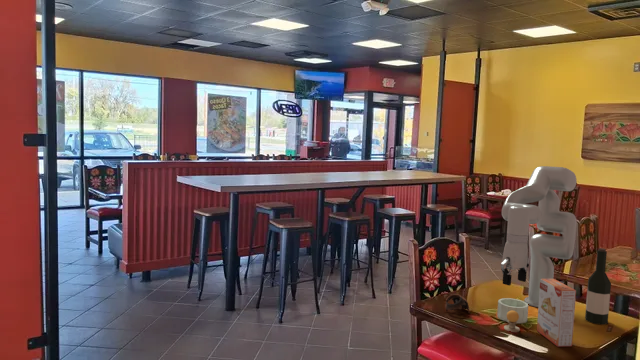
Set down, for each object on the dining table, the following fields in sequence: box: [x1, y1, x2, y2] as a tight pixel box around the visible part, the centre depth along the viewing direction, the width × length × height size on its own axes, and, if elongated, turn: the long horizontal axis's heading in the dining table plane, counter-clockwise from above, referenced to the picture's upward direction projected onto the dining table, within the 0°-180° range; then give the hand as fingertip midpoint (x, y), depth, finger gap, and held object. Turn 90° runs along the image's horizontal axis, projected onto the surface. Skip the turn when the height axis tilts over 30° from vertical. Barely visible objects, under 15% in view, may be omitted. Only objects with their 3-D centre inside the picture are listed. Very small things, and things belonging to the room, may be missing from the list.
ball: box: [507, 310, 519, 322], centre depth 185 cm, size 4×4×4 cm
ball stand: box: [503, 321, 521, 333], centre depth 185 cm, size 6×6×3 cm
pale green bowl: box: [496, 297, 529, 324], centre depth 197 cm, size 11×11×6 cm
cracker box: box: [536, 278, 577, 348], centre depth 176 cm, size 14×6×21 cm, turn 5°
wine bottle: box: [584, 247, 612, 326], centre depth 196 cm, size 8×8×30 cm
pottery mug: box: [445, 293, 471, 314], centre depth 204 cm, size 12×10×8 cm
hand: (514, 282), depth 184 cm, fingers open, 9 cm apart
